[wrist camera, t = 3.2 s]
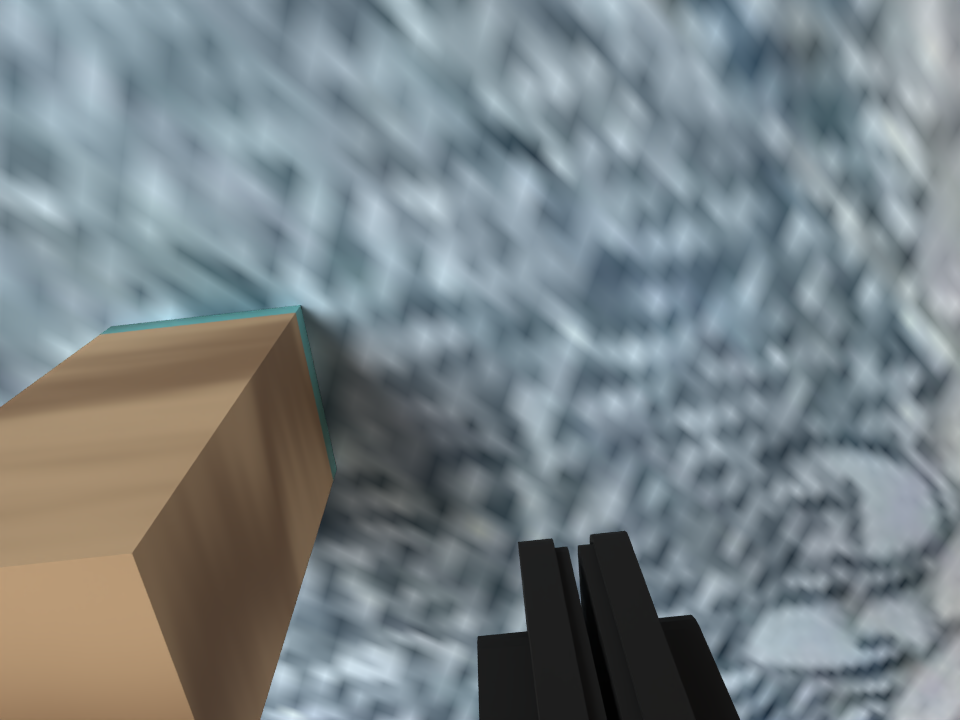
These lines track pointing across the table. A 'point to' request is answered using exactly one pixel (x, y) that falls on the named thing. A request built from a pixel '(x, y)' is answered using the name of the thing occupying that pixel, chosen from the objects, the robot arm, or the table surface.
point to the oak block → (159, 519)
